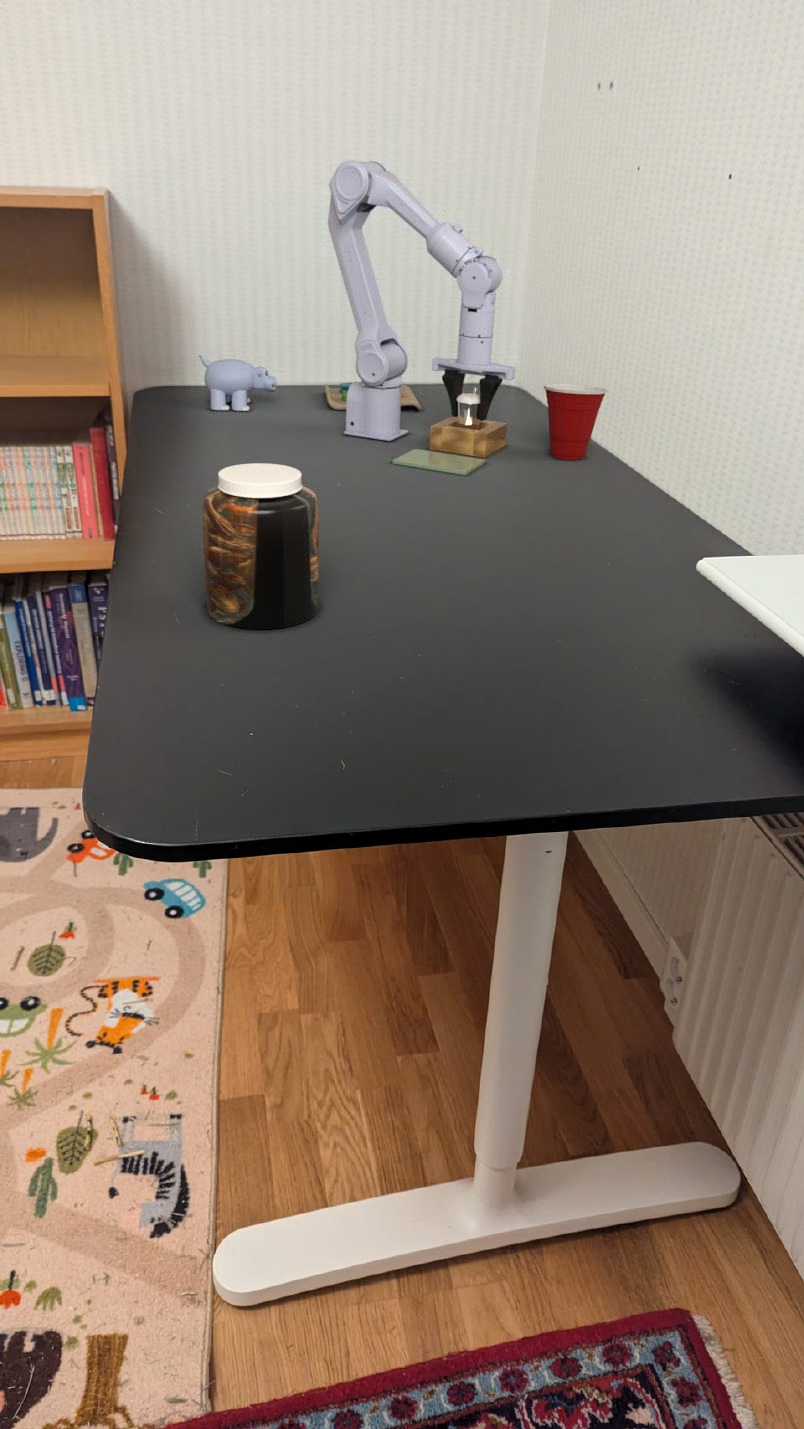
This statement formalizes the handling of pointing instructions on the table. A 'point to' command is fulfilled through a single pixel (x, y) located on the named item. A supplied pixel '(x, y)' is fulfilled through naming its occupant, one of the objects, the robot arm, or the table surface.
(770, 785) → the table surface
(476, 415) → the milkshake
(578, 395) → the plastic cup
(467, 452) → the holder
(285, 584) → the jar
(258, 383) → the hippopotamus toy
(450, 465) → the tile
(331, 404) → the puzzle board
